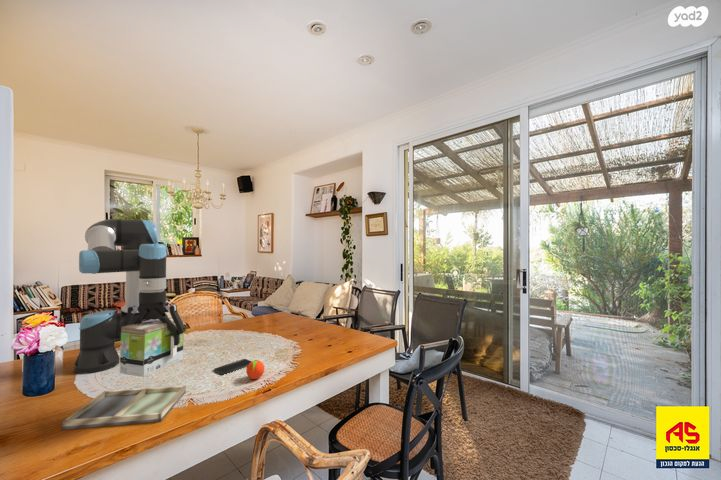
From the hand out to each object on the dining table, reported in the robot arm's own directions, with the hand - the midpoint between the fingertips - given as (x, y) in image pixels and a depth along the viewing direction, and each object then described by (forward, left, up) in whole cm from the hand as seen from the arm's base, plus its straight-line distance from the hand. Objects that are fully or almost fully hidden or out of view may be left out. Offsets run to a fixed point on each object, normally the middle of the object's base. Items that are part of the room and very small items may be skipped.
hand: (152, 356), depth 102 cm
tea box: (0, 0, -4) cm, 4 cm away
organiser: (-6, 0, -17) cm, 18 cm away
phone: (+19, +30, -17) cm, 39 cm away
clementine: (+30, +17, -17) cm, 38 cm away
